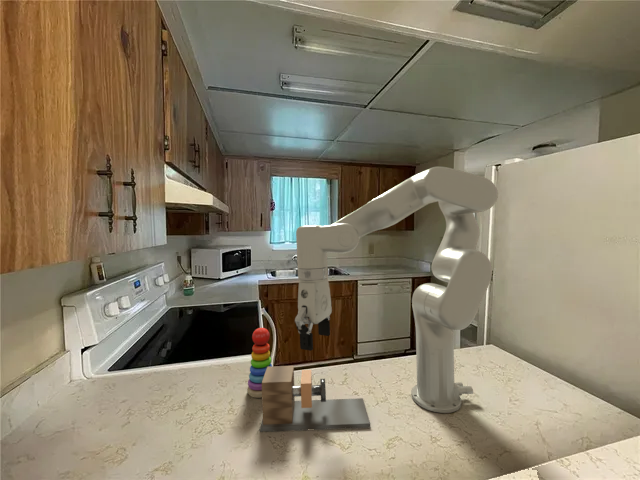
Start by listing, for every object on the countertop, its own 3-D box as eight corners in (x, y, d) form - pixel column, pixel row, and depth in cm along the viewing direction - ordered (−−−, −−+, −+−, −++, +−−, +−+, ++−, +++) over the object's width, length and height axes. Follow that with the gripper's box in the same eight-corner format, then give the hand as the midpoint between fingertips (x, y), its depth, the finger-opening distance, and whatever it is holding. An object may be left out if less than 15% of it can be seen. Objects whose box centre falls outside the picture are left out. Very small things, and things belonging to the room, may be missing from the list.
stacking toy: (268, 400, 77) (266, 334, 76) (242, 398, 78) (240, 332, 78) (278, 385, 84) (277, 324, 84) (254, 383, 86) (252, 323, 86)
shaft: (325, 394, 72) (324, 374, 72) (326, 406, 67) (325, 385, 67) (265, 396, 72) (264, 376, 72) (261, 409, 67) (260, 387, 67)
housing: (362, 401, 75) (361, 361, 75) (370, 427, 65) (369, 380, 65) (267, 405, 74) (266, 364, 74) (260, 431, 64) (258, 385, 64)
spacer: (312, 391, 73) (311, 369, 73) (311, 407, 66) (311, 383, 66) (302, 392, 73) (301, 370, 72) (301, 407, 66) (300, 383, 66)
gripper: (309, 280, 60) (313, 358, 60) (339, 270, 75) (342, 332, 76) (281, 279, 63) (284, 353, 63) (315, 269, 78) (318, 329, 79)
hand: (316, 341), depth 69 cm, fingers open, 9 cm apart
